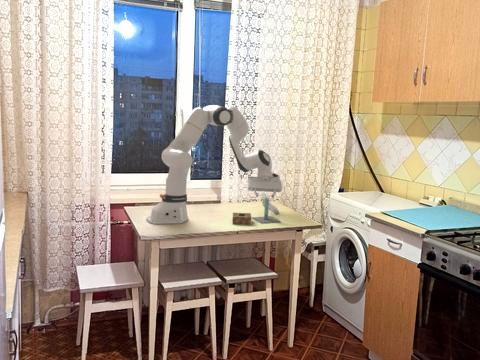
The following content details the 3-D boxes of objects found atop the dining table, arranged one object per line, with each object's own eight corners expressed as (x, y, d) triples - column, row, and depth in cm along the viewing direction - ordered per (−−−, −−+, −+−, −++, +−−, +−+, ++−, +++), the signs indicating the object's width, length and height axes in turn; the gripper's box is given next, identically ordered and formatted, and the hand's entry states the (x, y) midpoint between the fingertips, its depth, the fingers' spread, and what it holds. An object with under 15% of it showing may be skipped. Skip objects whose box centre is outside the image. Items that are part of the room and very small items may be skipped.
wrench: (275, 219, 275) (259, 203, 302) (278, 219, 275) (262, 203, 303) (276, 207, 272) (261, 191, 300) (279, 206, 273) (263, 191, 301)
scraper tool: (264, 219, 259) (265, 198, 257) (263, 218, 262) (265, 197, 260) (267, 219, 259) (269, 198, 257) (267, 218, 262) (268, 197, 260)
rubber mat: (261, 223, 252) (261, 222, 252) (251, 218, 263) (251, 217, 263) (280, 222, 257) (280, 221, 257) (270, 217, 268) (270, 216, 268)
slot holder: (232, 224, 249) (232, 216, 248) (232, 219, 259) (232, 212, 258) (251, 224, 249) (251, 217, 249) (250, 220, 259) (250, 213, 259)
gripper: (247, 173, 276) (247, 192, 268) (282, 175, 276) (282, 194, 268) (247, 179, 281) (246, 198, 273) (280, 181, 282) (281, 200, 273)
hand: (264, 196), depth 271 cm, fingers open, 8 cm apart
